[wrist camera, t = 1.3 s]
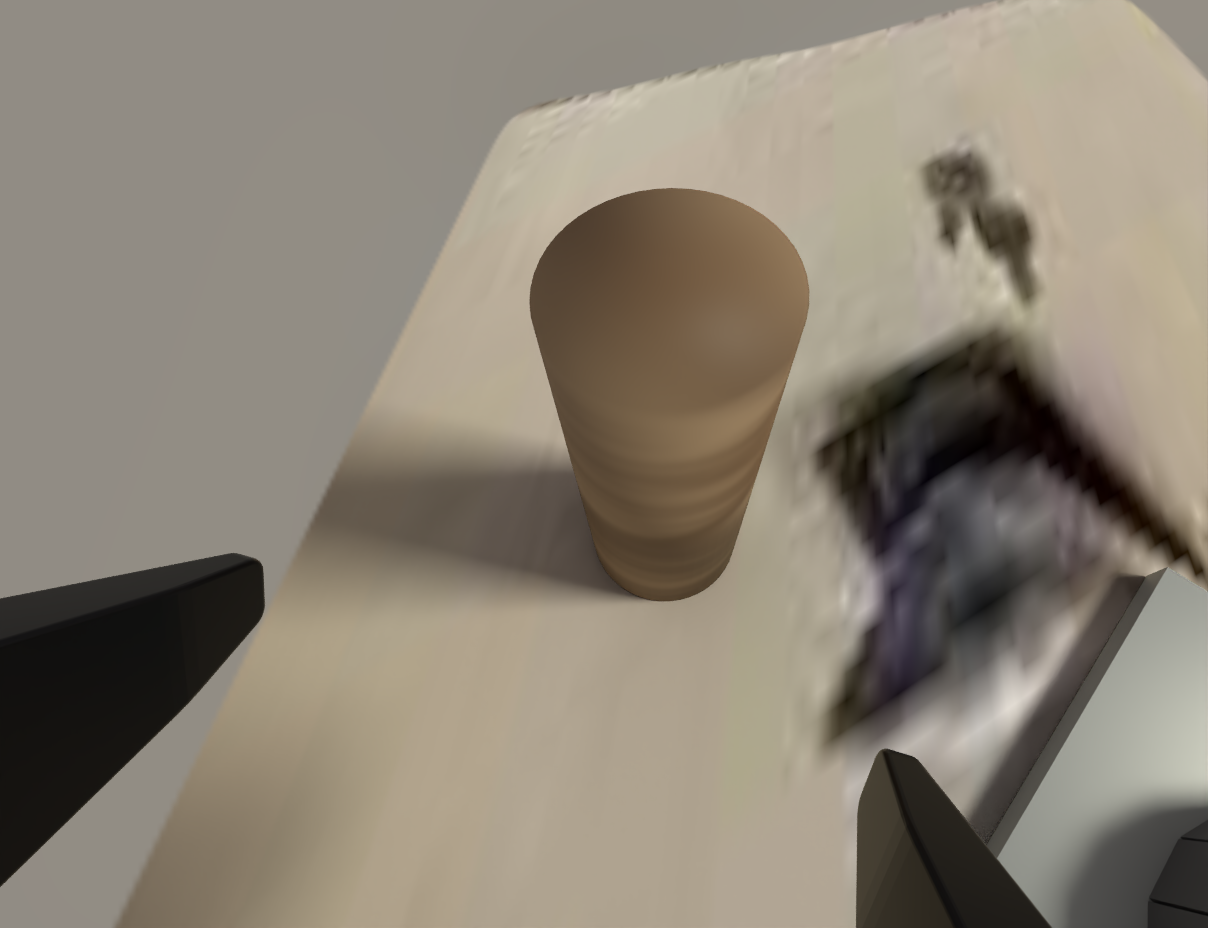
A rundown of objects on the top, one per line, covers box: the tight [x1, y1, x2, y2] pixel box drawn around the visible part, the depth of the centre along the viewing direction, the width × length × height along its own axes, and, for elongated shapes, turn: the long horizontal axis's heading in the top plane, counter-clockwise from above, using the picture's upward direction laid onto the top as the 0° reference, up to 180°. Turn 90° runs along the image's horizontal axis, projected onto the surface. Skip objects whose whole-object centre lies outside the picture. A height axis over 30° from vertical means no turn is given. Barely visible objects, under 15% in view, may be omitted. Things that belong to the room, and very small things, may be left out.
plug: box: [530, 188, 809, 601], centre depth 18 cm, size 5×5×13 cm
